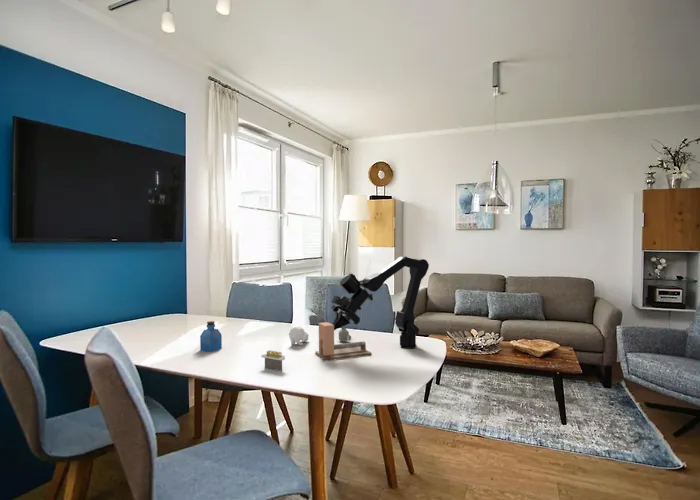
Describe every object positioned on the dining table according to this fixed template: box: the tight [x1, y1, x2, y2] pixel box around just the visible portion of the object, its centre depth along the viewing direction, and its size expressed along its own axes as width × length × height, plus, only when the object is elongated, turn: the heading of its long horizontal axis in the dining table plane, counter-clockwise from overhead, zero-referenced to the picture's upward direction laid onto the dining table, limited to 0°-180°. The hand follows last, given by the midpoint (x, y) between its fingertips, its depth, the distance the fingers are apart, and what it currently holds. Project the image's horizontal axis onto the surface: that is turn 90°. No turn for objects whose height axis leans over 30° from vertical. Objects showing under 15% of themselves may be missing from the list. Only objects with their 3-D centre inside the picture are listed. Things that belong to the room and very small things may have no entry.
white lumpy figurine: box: [288, 325, 309, 346], centre depth 193 cm, size 6×8×12 cm
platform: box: [261, 350, 286, 372], centre depth 155 cm, size 12×18×7 cm, turn 62°
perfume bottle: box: [199, 320, 223, 353], centre depth 183 cm, size 6×6×12 cm
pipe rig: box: [314, 340, 372, 362], centre depth 174 cm, size 20×11×5 cm, turn 114°
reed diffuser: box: [338, 305, 352, 342], centre depth 197 cm, size 10×7×20 cm
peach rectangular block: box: [318, 321, 335, 356], centre depth 171 cm, size 4×7×12 cm, turn 24°
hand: (331, 329), depth 172 cm, fingers closed
